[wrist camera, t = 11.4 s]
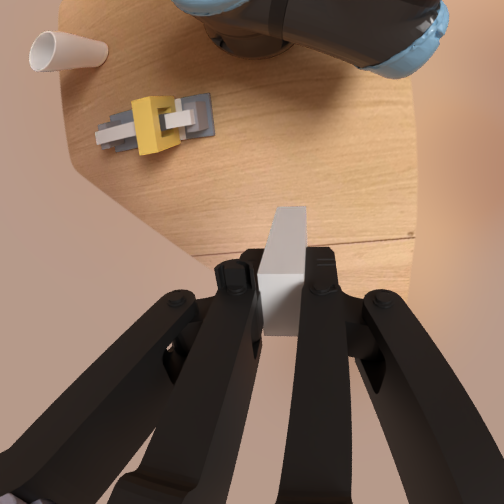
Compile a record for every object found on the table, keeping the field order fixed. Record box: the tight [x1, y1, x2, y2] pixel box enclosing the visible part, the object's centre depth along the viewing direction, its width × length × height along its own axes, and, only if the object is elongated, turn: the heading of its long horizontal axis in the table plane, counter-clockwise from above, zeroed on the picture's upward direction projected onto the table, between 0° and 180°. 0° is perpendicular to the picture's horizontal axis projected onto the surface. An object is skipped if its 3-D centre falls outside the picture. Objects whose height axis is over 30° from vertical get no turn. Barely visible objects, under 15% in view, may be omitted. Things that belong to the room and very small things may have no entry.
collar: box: [131, 96, 181, 155], centre depth 40 cm, size 8×3×8 cm, turn 6°
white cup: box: [29, 31, 108, 72], centre depth 34 cm, size 7×7×15 cm
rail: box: [95, 93, 215, 152], centre depth 43 cm, size 7×19×7 cm, turn 96°
